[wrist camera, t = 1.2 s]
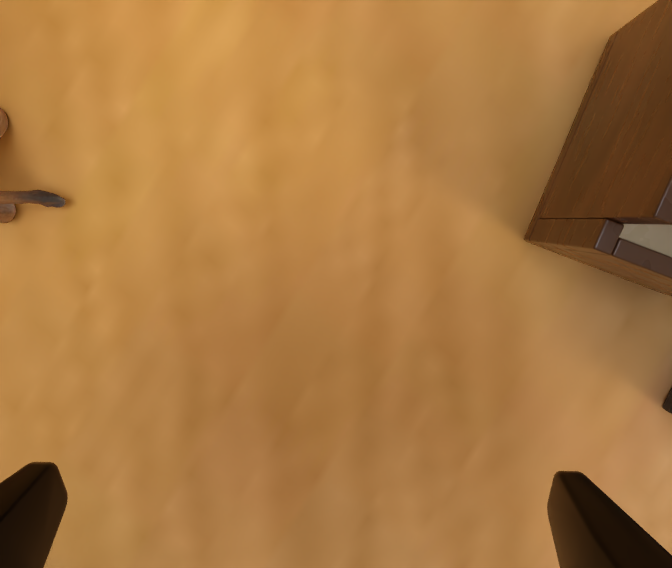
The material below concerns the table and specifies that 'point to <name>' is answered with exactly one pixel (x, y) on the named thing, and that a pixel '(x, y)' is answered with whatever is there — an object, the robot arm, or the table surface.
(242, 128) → the table surface
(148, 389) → the table surface
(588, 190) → the brown wooden holder
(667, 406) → the bin
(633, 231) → the birch block
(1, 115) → the lion figurine
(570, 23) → the table surface
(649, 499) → the table surface
